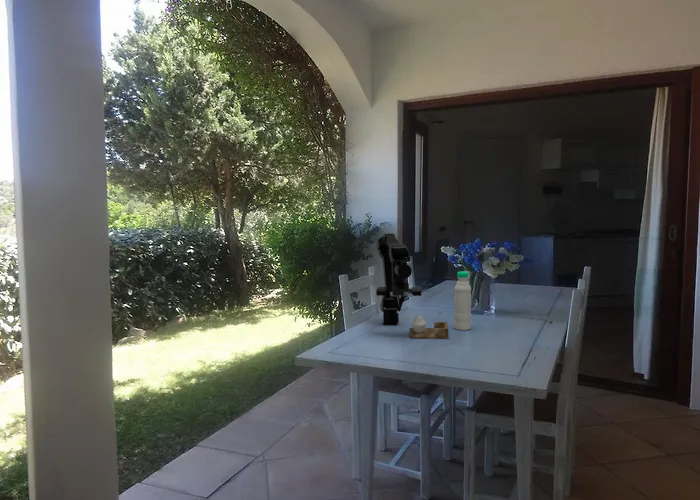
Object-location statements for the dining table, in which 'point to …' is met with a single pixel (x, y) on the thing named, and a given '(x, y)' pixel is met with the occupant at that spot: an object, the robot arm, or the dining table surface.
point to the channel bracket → (431, 332)
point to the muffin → (418, 324)
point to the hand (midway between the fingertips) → (399, 311)
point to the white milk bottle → (462, 302)
